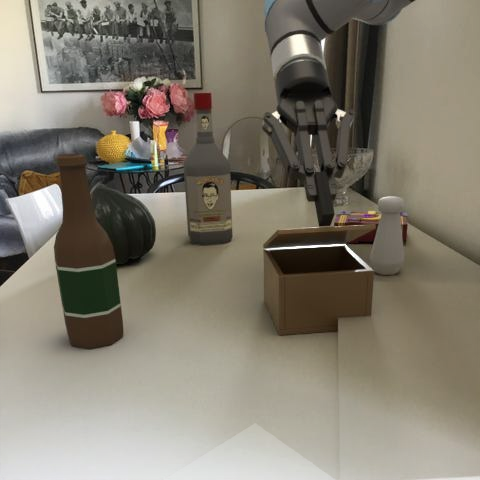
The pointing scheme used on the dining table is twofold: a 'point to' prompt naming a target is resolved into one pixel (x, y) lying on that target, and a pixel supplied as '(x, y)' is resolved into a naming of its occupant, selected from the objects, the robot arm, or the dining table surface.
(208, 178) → the liquor
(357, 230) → the cardboard lid
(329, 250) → the open cardboard box
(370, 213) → the decorative book
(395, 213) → the salt shaker
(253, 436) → the dining table surface
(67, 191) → the beer bottle
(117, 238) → the squash
